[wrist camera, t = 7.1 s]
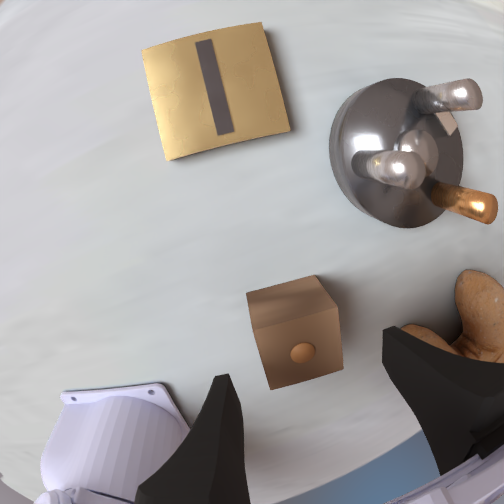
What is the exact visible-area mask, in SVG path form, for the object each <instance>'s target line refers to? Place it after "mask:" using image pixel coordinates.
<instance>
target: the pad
mask: <svg viewBox="0 0 504 504" xmlns="http://www.w3.org/2000/svg"><path fill="white" fill-rule="evenodd" d="M142 56H143V61H144V66H145V71H146V75H147V80H148V85H149V89H150V94H151V98H152V103H153V107H154V112H155V116H156V120H157V124H158V129H159V133H160V137H161V141H162V145H163V149H164V153H165V157H166V160H167V161H171V160H174V159H177V158H181V157H184V156H188V155H191V154H195V153H198V152H202V151H206V150H210V149H213V148H217V147H221V146H225V145H229V144H234V143H238V142H242V141H246V140H251V139H255V138H260V137H265V136H270V135H274V134H279V133H285V132H288V131H291V130H290V126H289V122H288V118H287V113H286V109H285V105H284V101H283V97H282V94H281V90H280V86H279V82H278V78H277V75H276V71H275V67H274V64H273V60H272V56H271V53H270V49H269V46H268V42H267V39H266V36H265V32H264V29H263V26H262V22H258V23H251V24H244V25H238V26H233V27H227V28H222V29H217V30H212V31H208V32H204V33H199V34H195V35H191V36H187V37H184V38H180V39H176V40H173V41H169V42H166V43H163V44H159V45H156V46H153V47H150V48H147V49H144V50H142Z"/></svg>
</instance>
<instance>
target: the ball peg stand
mask: <svg viewBox="0 0 504 504" xmlns="http://www.w3.org/2000/svg"><path fill="white" fill-rule="evenodd" d="M482 102H483V97H482V93H481V90H480V88H479V86H478V84H477V83H476V82H475V81H474V80H472V79H463V80H458V81H453V82H448V83H443V84H438V85H434V86H430V87H425V86H424V85H422V84H420V83H418V82H415V81H412V80H409V79H402V78H392V79H386V80H383V81H380V82H377V83H375V84H372V85H370V86H367V87H365V88H362V89H360V90H358V91H357V92H355V93H353V94H352V95H351V96H350V97H349V98H348V99H347V100H346V101H345V102H344V103H343V104H342V106H341V107H340V109H339V110H338V112H337V114H336V116H335V118H334V121H333V124H332V127H331V132H330V138H329V154H330V161H331V166H332V170H333V173H334V176H335V178H336V181H337V183H338V185H339V187H340V188H341V190H342V192H343V193H344V195H345V196H346V197H347V198H348V200H349V201H350V202H351V203H352V204H353V205H354V206H355V207H357V208H358V209H359V210H361V211H362V212H364V213H366V214H367V215H369V216H371V217H374V218H376V219H378V220H380V221H382V222H384V223H386V224H389V225H391V226H395V227H399V228H416V227H420V226H423V225H425V224H428V223H430V222H431V221H433V220H435V219H436V218H437V217H439V216H440V215H441V214H442V213H443V212H444V211H445V210H448V211H451V212H454V213H457V214H460V215H463V216H466V217H469V218H471V219H474V220H477V221H480V222H482V223H485V224H491V223H492V222H493V221H494V220H495V218H496V216H497V212H498V202H497V199H496V197H495V196H494V195H492V194H489V193H485V192H481V191H477V190H473V189H469V188H464V187H460V186H459V184H460V180H461V176H462V170H463V148H462V141H461V137H460V133H459V130H458V127H457V126H458V125H457V123H456V121H455V120H454V118H453V116H452V114H451V112H452V111H465V110H478V109H480V108H481V106H482Z"/></svg>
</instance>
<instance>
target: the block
mask: <svg viewBox="0 0 504 504" xmlns="http://www.w3.org/2000/svg"><path fill="white" fill-rule="evenodd" d="M246 296H247V301H248V307H249V313H250V318H251V324H252V329H253V333H254V337H255V340H256V343H257V347H258V350H259V354H260V357H261V360H262V364H263V367H264V371H265V374H266V377H267V381H268V384H269V387H270V390H274V389H278V388H282V387H285V386H289V385H293V384H297V383H300V382H304V381H307V380H311V379H314V378H317V377H321V376H324V375H327V374H330V373H333V372H337V371H340V370H343V369H344V367H343V354H342V343H341V332H340V323H339V313H338V306H337V305H336V304H335V302H334V301H333V300H332V298H331V297H330V295H329V294H328V293H327V291H326V290H325V289H324V287H323V286H322V285H321V283H320V282H319V280H318V279H317V278H316V276H315V275H312V276H308V277H304V278H301V279H297V280H293V281H289V282H286V283H282V284H278V285H274V286H271V287H267V288H263V289H259V290H255V291H251V292H247V293H246Z"/></svg>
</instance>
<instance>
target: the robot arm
mask: <svg viewBox="0 0 504 504" xmlns="http://www.w3.org/2000/svg"><path fill="white" fill-rule="evenodd" d="M382 363H383V365H384V367H385V369H386V371H387V373H388V375H389V377H390V379H391V380H392V382H393V383H394V385H395V386H396V388H397V389H398V390H399V392H400V393H401V395H402V396H403V398H404V399H405V401H406V402H407V403H408V405H409V406H410V408H411V409H412V411H413V412H414V414H415V416H416V417H417V419H418V421H419V423H420V425H421V427H422V429H423V432H424V434H425V436H426V438H427V440H428V443H429V445H430V447H431V450H432V453H433V455H434V457H435V460H436V463H437V466H438V469H439V472H440V477H438V478H437V479H435V480H433V481H431V482H429V483H427V484H425V485H423V486H421V487H419V488H417V489H415V490H413V491H411V492H409V493H407V494H405V495H402V496H400V497H398V498H396V499H393V500H391V501H389V502H386V503H384V504H491V503H493V502H494V501H495V500H497V499H498V498H499V497H500V496H502V495H503V494H504V363H496V362H487V361H480V360H475V359H471V358H467V357H463V356H460V355H456V354H453V353H450V352H448V351H445V350H443V349H440V348H438V347H435V346H433V345H431V344H429V343H427V342H425V341H423V340H421V339H419V338H417V337H415V336H413V335H411V334H409V333H407V332H405V331H403V330H401V329H399V328H397V327H395V326H392V327H390V328H387V329H384V330H383V348H382ZM150 390H153V391H150ZM60 398H61V400H62V401H63V403H64V404H65V405H64V407H63V409H62V412H61V414H60V416H59V418H58V420H57V422H56V424H55V426H54V428H53V431H52V433H51V435H50V437H49V439H48V442H47V444H46V446H45V449H44V451H43V454H42V457H41V476H42V480H43V483H44V485H45V487H46V489H47V491H48V492H44V493H42V494H41V495H40V496H39V497H38V498H37V499H36V501H35V502H34V504H251V503H250V497H249V492H248V486H247V480H246V473H245V464H244V429H243V416H242V410H241V404H240V401H239V398H238V396H237V393H236V391H235V388H234V386H233V383H232V381H231V378H230V376H229V374H224V375H219V376H215V377H214V379H213V382H212V385H211V388H210V390H209V393H208V395H207V398H206V400H205V402H204V405H203V407H202V409H201V411H200V413H199V415H198V417H197V419H196V421H195V423H194V424H193V426H192V428H191V430H190V428H189V427H188V425H187V423H186V422H185V420H184V418H183V417H182V415H181V414H180V412H179V410H178V409H177V407H176V405H175V403H174V402H173V400H172V398H171V397H170V395H169V393H168V391H167V390H166V388H165V386H164V385H162V384H159V383H155V384H148V385H140V386H132V387H123V388H113V389H102V390H89V391H73V392H62V393H61V395H60Z"/></svg>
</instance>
